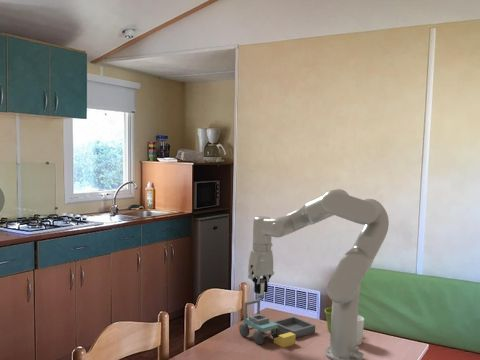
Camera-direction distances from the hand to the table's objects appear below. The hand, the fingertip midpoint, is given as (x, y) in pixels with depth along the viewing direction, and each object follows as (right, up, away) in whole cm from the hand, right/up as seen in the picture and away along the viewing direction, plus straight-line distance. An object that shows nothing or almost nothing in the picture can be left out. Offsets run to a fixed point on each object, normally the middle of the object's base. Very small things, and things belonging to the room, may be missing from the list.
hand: (260, 291), depth 182 cm
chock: (+9, -19, -5) cm, 22 cm away
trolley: (0, -19, 0) cm, 19 cm away
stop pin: (0, -2, 0) cm, 2 cm away
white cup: (+37, -20, -1) cm, 42 cm away
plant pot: (+32, -20, +10) cm, 39 cm away
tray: (+14, -19, +9) cm, 25 cm away
